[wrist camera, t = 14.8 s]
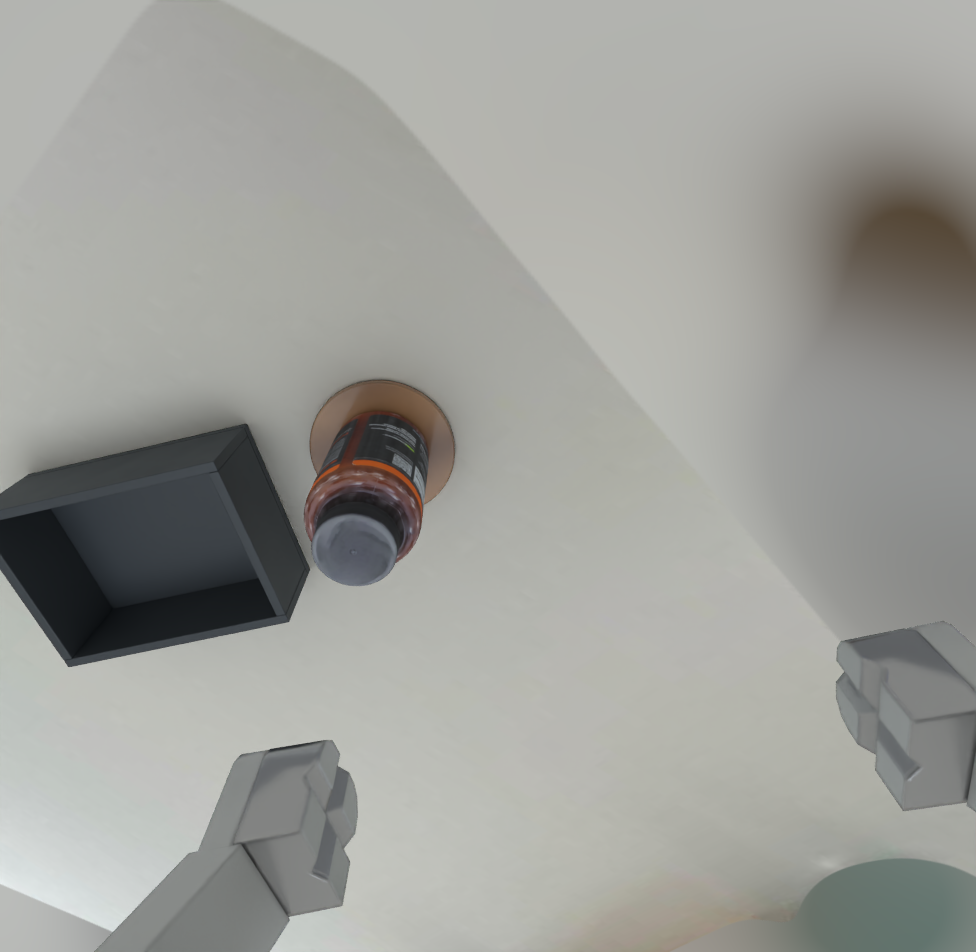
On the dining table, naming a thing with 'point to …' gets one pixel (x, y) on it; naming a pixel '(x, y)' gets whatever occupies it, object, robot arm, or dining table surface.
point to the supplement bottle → (368, 498)
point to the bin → (152, 547)
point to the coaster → (395, 401)
